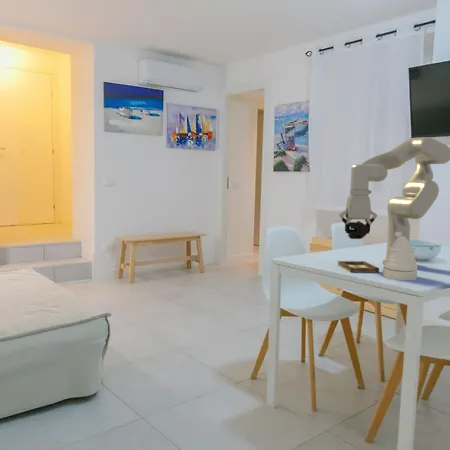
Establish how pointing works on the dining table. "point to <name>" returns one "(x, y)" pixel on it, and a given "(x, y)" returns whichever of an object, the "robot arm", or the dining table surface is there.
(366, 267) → the pocket tray
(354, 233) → the end cap
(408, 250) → the honey pot
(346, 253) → the dining table surface
